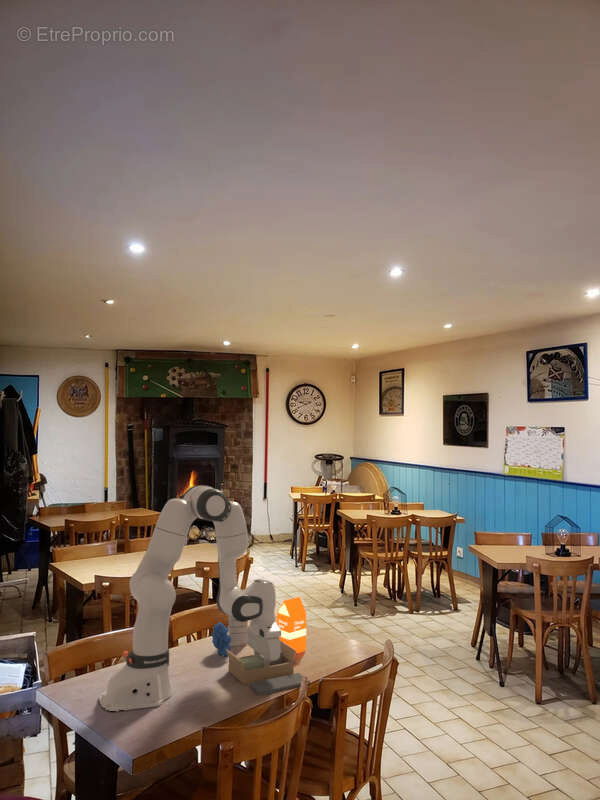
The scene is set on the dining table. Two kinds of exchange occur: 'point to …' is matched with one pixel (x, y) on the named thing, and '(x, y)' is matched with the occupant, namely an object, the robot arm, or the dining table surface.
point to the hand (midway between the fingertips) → (262, 665)
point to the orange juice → (293, 624)
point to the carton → (265, 672)
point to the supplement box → (237, 632)
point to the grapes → (221, 639)
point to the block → (258, 662)
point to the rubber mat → (277, 684)
